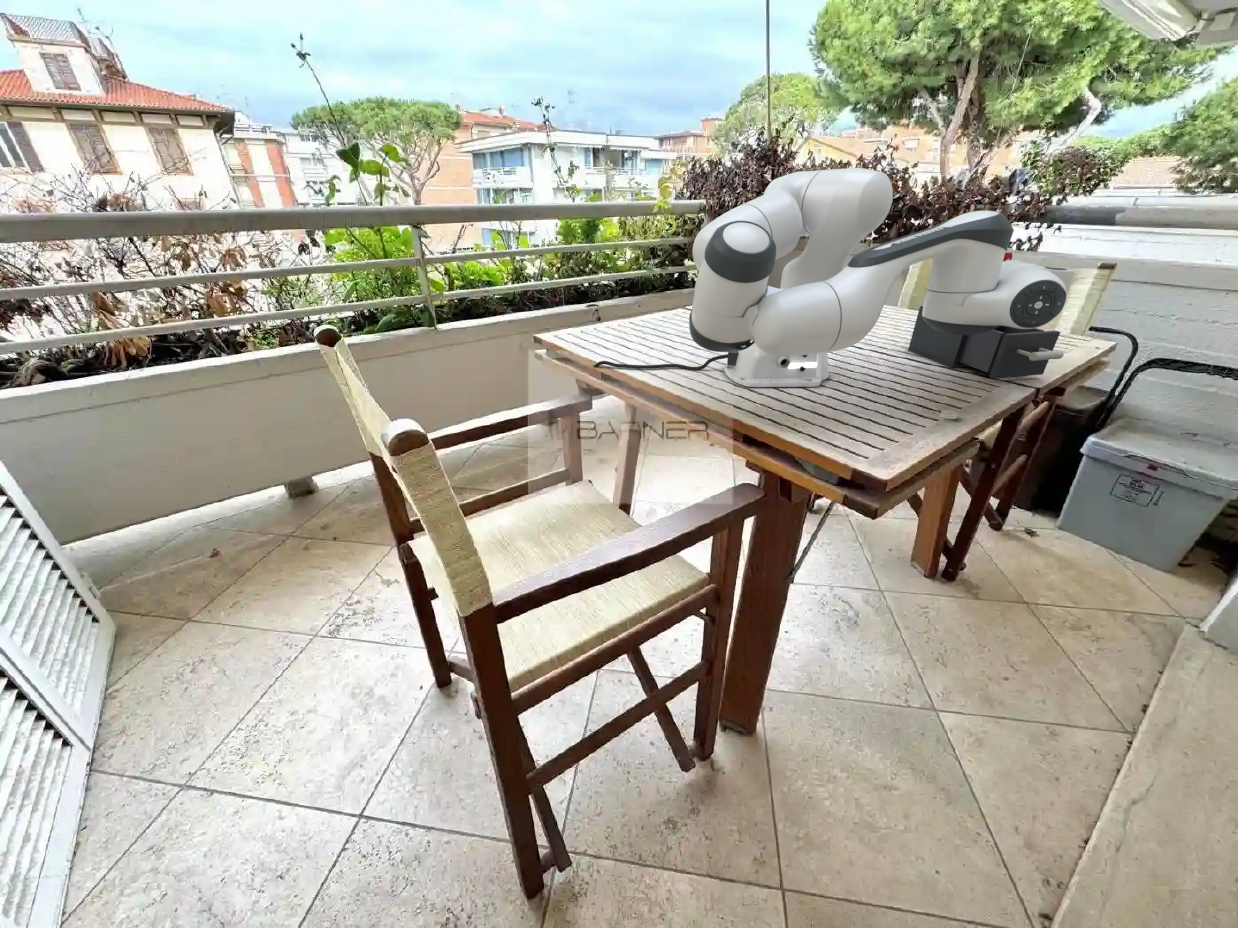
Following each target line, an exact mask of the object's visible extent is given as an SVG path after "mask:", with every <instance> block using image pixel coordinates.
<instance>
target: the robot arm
mask: <svg viewBox="0 0 1238 928" xmlns="http://www.w3.org/2000/svg"><path fill="white" fill-rule="evenodd" d="M893 196H894V190H893V185H892V181H891V179H890V178H889V176H888V174H887V173H885V172H883V171H880V170H879V171H878V170H874V169H870V168H869V169H868V168H863V167H847V168H833V169H831V168H830V169H817V170H805V171H804V170H802V171H795V172H791V173H789V174H785V175H782V176H779V177H777V178H774V179H773V180H772V181H771V182H769V183H768V185H767V187H766V188H765V190H764V192H763V194H762V195H760V196H758V197H756V198H753V199H751V200H749V201H747V202H745V203H743V204H740V205H738V206H736V207H734V208H732V209H729V210H728V211H726V212H724V213H722V214H721V215H720V216H718V217H716V218H714V219H713V220H712V221H711V222H709V223H708V224H707V225H705V226H704V227H703V228H702V229H700V230H699V232H698V233H697V234H696V236H695V238H694V241H693V244H692V259H693V263H694V265H695V268H696V270H697V271H698V274H697V277H696V282H695V284H694V293H693V297H692V303H691V304H692V305H691V311H690V313H689V319H688V326H689V333H690V336H691V338H692V340H693V342H694V343H695V344H696V345H697V346H699V347H700V348H703V349H705V350H707V351H710V352H716V353H725V354H721V355H716V356H714V357H711V358H709V359H707V360H706V361H705V362H704V363H703V364H701V365H699V366H689V365H684V364H678V363H662V364H627V363H615V362H612V361H608V360H600V361H598V362H596V363H595V364H594V365H593V366H592V367H593V368H598V367H599V366H601V365H606V366H609V367H613V368H618V369H619V368H622V369H635V370H651V369H652V370H653V369H654V370H655V369H666V368H667V369H669V368H674V369H675V368H677V369H682V370H686V371H687V370H688V371H701V370H704V369H706V368H707V367H708V365H710V364H711V363H712V362H715V361H718V360H723V359H727V360H726V361H727V362H726V364H725V366H724V371H723V372H724V374H725V375H726V377H728V378H729V379H730V380H731V381H733V382H734V383H736V384H738V385H741V386H744V387H748V388H799V387H800V388H803V387H804V388H808V387H810V388H812V387H813V388H815V387H816V388H817V387H819V386H820V385H821V383H822V382H823V381H825V380H827V379H828V378H829V376H830V373H829V363H828V362H829V360H828V356H829V354H828V353H832V352H836V351H840V350H845V349H847V348H850V347H852V346H854V345H857V344H858V343H860V342H861V341H862V340H864V339H865V337H867V335H869V333H870V332H871V331H872V330H873V328H874V327H875V325H876V324H877V322H878V320H879V318H880V316H881V313H882V311H883V308H884V307H885V303H886V301H887V299H888V298H889V297H888V296H889V294H890V292H891V290H892V288H893V287H894V285H895V283H896V282H897V280H898V278H899V277H900V276H901V274H902V273H903V272H904V271H905V270H906V269H907V268H908V267H910V266H912V265H915V264H918V263H921V262H924V261H927V260H930V259H932V262H931V266H930V271H929V277H928V283H927V287H926V289H925V295H924V299H923V300H924V301H923V305H922V306H923V311H922V318H923V319H924V321H925V322H926V323H927V324H928V325H930V326H931V327H932V328H934V329H935V330H937V331H939V332H942V333H946V334H952V335H977V334H983V333H986V332H989V331H991V330H993V329H995V328H997V327H999V326H1000V325H1002V326H1008V327H1013V328H1017V329H1033V328H1038V329H1039V328H1040V327H1043V326H1046V325H1047V324H1049V323H1050V322H1052V321H1053V320H1054V319H1055V318H1056V317H1057V316H1058V315H1059V314H1060V313H1061V312H1062V311H1063V309H1064V308H1065V305H1066V303H1067V298H1068V294H1069V292H1070V290H1071V287H1072V283H1073V280H1074V277H1075V273H1076V272H1075V270H1074V269H1071V268H1064V267H1050V266H1042V265H1038V264H1035V263H1032V262H1030V263H1028V262H1026V261H1023V260H1018V259H1012V260H1009V261H1004V262H1003V259H1004V255H1005V252H1006V251H1007V249H1008V248H1009V246H1010V243H1011V239H1012V236H1013V235H1014V232H1015V229H1014V227H1013V226H1012V223H1011V222H1010V221H1009V220H1008V218H1007V217H1006V216H1005V215H1004V214H1003V213H1002V212H1000V211H994V210H973V211H969V212H968V211H967V212H966V213H965V212H964V213H961V214H960V215H957V216H955V217H952V218H949V219H947V220H944V221H943V222H941V223H938V224H936V225H933V226H930V227H927V228H924V229H922V230H919V231H915V232H912V233H910V234H906V235H903V236H901V237H900V236H899V237H898V238H895V239H891V240H888V241H886V242H882V243H880V244H877V245H874V246H871V247H869V248H867V249H864V250H862V251H861V252H858V253H856V254H855V255H853V256H852V257H851V258H850V260H849V262H848V263H847V265H846V262H847V260H848V259H849V256H850V255H851V254H852V252H853V251H854V249H856V247H857V246H858V245H859V243H861V241H862V240H863V239H865V238H866V237H867V236H869V234H872V232H874V231H876V230H877V229H878V228H879V227H880V226H881V224H883V223H884V221H885V220H886V218H887V216H888V215H889V213H890V210H891V208H892V205H893V199H894V197H893ZM801 237H808V240H807V242H806V246H805V247H804V249H803V251H802V252H801V254H799V255H798V256H797V257H795V258H792V259H791V260H790V261H789V262H788V263H786V265H784V268H783V270H782V272H781V278H780V279H781V280H780V285H779V288H778V287H774V286H770V285H768V282H769V279H770V275H771V274H772V273H773V270H774V269H775V268H774V267H775V263H776V260H778V259H781V258H783V257H785V256H787V255H788V254H790V253H791V252H792V251H793V250H794V249H795V248H796V247H797V246H798V244H799V241H800V238H801Z"/></svg>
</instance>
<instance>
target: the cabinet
mask: <svg viewBox="0 0 1238 928" xmlns="http://www.w3.org/2000/svg"><path fill="white" fill-rule="evenodd" d="M923 306H924V305H920V306H919V307H918V312H917V316H916V319H915V322H914V323H915V324H914V327H913V331H912V334H911V338H910V341H909V346H908V349H907V350H908V351H909V352H911V353H914V354H916V355H918V356H921V357H924V358H926V359H929V360H931V361H933V362H936V363H938V364H941V365H944V366H946V367H949V368H950V369H951V368H952V369H957V368H970V367H971V366H969V365H966V364H963V363H961V362H958V359H959V356H960V353H961V350H962V347H963V344H964V340H965V337H966V335H952V334H946V333H942V332H939V331H937V330H935V329H934V328H932V327H931V326H930V325H928V324H927V323H926V322H925V321H924V319H923V318H922V311H923Z"/></svg>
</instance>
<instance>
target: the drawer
mask: <svg viewBox="0 0 1238 928" xmlns="http://www.w3.org/2000/svg"><path fill="white" fill-rule="evenodd" d="M1060 334H1061V331H1059V330H1045V329H1041V328H1039V327H1038V328H1033V329H1017V328H1013V327H1008V326H1002V325H1000V326H999V327H997V328H995V329H993V330H991V331H989V332H986V333H983V334H977V335H966V337H965V340H964V344H963V347H962V350H961V353H960V356H959V359H958V362H961V363H963V364H966V365H969V366H971V367H972V368H973V369H974V368H975V369H977V370H979V371H982V372H985V373H987V374H989V375H988V377H989V378H991V379H1004V378H1015V377H1016V378H1017V377H1028V376H1042V375H1044V372H1045V370H1046V368H1047V365H1048V363H1049V361H1050V360H1059V359H1063V357H1064V351H1063V350H1054V349H1055V346H1056V344H1057V342H1058V339H1059V337H1060Z"/></svg>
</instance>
